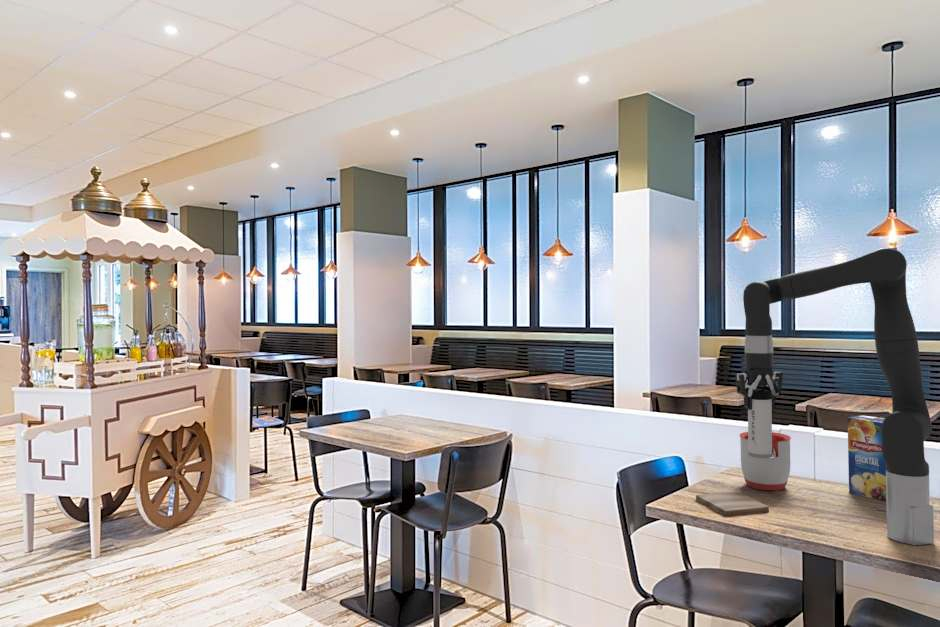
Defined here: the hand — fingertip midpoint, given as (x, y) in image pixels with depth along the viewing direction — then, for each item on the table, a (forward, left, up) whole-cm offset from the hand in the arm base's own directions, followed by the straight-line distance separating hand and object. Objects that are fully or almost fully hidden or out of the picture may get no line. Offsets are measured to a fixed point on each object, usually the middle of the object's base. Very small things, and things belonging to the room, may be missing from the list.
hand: (759, 408), depth 186 cm
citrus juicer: (+24, -19, -31) cm, 44 cm away
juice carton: (+7, -45, -31) cm, 55 cm away
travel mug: (0, 0, -14) cm, 14 cm away
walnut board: (+10, +3, -31) cm, 33 cm away
